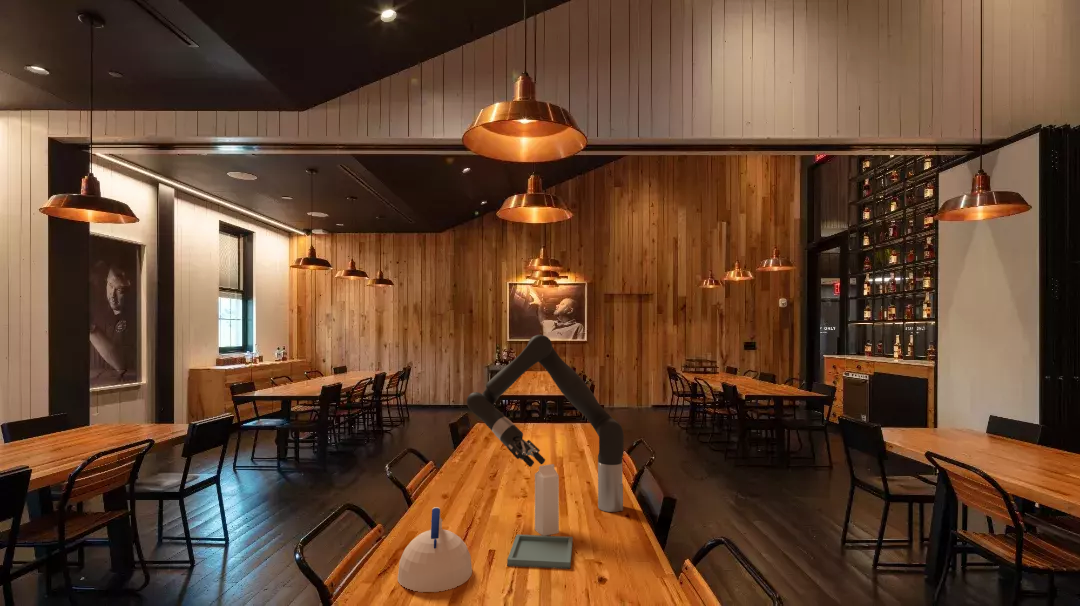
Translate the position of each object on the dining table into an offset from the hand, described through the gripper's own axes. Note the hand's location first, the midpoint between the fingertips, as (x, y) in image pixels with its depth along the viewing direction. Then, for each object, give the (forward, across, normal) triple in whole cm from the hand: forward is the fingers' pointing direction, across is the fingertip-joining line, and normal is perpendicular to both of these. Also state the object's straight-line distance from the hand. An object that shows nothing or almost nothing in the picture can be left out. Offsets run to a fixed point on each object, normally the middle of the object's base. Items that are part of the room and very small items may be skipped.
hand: (538, 463), depth 178 cm
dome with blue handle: (+8, -41, +27) cm, 50 cm away
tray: (+23, -16, +13) cm, 31 cm away
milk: (+16, -1, +15) cm, 22 cm away
